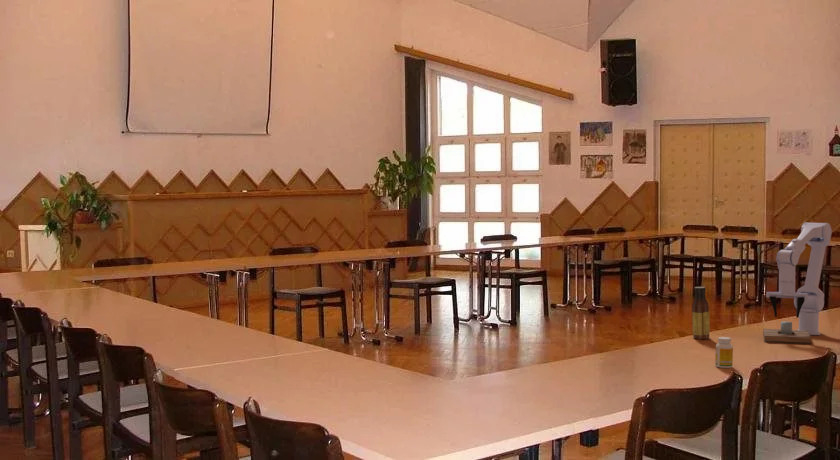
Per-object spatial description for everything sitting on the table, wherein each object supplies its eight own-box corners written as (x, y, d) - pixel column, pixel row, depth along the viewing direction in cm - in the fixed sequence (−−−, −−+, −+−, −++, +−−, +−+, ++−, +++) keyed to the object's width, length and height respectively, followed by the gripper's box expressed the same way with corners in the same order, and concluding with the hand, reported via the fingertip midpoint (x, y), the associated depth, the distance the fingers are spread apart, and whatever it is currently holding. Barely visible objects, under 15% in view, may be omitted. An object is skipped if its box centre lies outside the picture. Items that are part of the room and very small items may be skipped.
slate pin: (780, 336, 354) (780, 321, 354) (791, 337, 353) (791, 321, 352) (780, 338, 350) (781, 322, 350) (792, 339, 349) (792, 323, 349)
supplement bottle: (711, 366, 305) (712, 337, 304) (723, 364, 307) (723, 335, 307) (724, 369, 300) (724, 339, 299) (736, 367, 303) (736, 338, 302)
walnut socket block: (763, 334, 362) (763, 328, 361) (807, 336, 356) (807, 330, 356) (764, 342, 346) (764, 335, 346) (810, 344, 341) (810, 337, 341)
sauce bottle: (707, 336, 359) (708, 286, 357) (711, 339, 352) (711, 288, 351) (690, 336, 359) (690, 286, 358) (693, 339, 353) (694, 288, 352)
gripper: (767, 282, 349) (766, 317, 349) (808, 283, 344) (807, 319, 345) (766, 279, 355) (765, 314, 356) (807, 280, 351) (806, 316, 351)
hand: (786, 316), depth 351 cm, fingers open, 7 cm apart
